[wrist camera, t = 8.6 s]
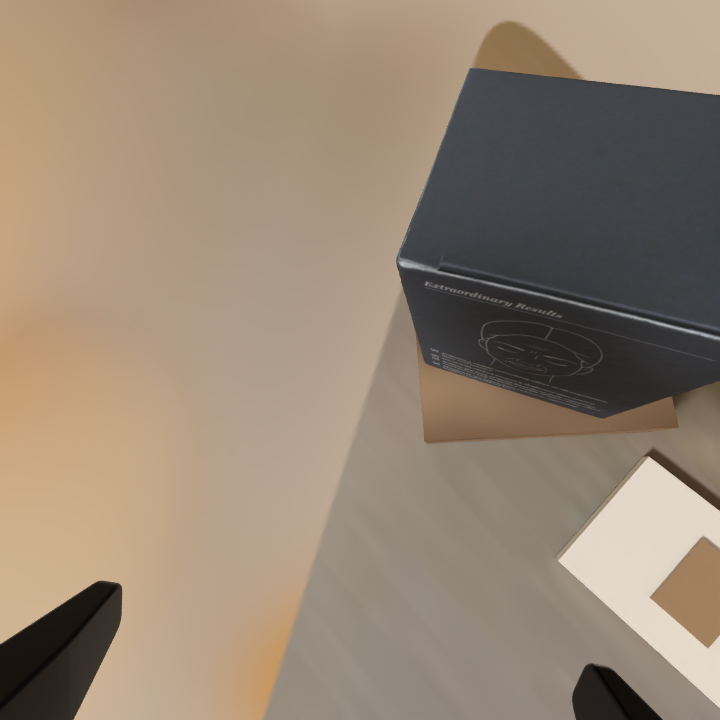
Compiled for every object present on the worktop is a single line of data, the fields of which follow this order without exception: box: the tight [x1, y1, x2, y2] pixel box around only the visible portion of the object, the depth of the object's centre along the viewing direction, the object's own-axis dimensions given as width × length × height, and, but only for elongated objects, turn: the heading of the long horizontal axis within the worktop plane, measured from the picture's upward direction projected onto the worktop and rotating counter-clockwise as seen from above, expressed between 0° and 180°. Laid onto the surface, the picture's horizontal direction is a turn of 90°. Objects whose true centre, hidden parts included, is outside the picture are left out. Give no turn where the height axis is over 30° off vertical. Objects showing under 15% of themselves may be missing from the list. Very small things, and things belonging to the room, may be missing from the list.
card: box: [555, 457, 720, 708], centre depth 17 cm, size 9×6×1 cm, turn 47°
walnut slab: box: [416, 334, 678, 444], centre depth 20 cm, size 10×10×2 cm
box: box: [396, 67, 720, 419], centre depth 14 cm, size 8×6×11 cm
